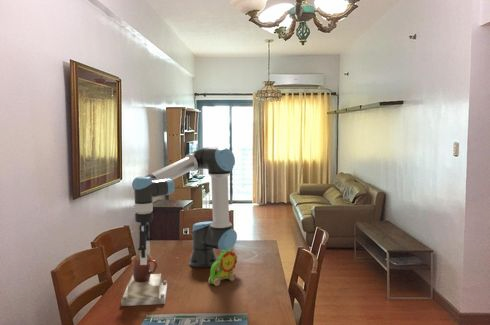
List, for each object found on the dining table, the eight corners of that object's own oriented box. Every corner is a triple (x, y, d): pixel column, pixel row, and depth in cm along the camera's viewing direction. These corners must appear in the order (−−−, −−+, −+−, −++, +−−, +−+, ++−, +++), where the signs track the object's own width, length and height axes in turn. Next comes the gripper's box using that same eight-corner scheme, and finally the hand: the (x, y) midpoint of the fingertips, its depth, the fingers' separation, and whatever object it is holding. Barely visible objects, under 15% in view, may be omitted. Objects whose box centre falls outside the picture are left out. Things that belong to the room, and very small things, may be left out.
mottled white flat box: (167, 288, 197) (166, 272, 196) (164, 303, 179) (164, 286, 178) (127, 289, 194) (127, 274, 194) (121, 306, 177) (121, 288, 176)
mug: (127, 282, 183) (127, 259, 183) (139, 275, 192) (138, 253, 191) (151, 285, 180) (151, 262, 179) (162, 278, 188) (161, 256, 187)
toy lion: (215, 287, 198) (214, 255, 196) (207, 284, 202) (207, 253, 200) (239, 278, 209) (239, 249, 208) (231, 276, 213) (231, 246, 211)
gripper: (138, 207, 196) (140, 251, 197) (131, 218, 171) (132, 269, 173) (155, 206, 197) (156, 250, 198) (149, 218, 172) (151, 268, 174)
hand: (145, 259), depth 186 cm, fingers open, 13 cm apart
